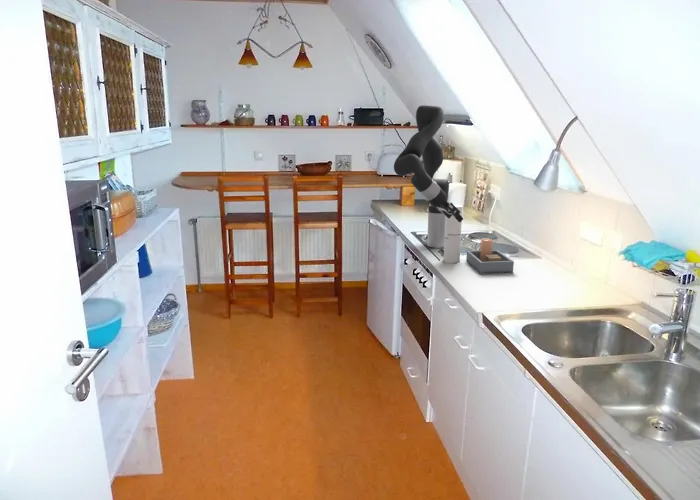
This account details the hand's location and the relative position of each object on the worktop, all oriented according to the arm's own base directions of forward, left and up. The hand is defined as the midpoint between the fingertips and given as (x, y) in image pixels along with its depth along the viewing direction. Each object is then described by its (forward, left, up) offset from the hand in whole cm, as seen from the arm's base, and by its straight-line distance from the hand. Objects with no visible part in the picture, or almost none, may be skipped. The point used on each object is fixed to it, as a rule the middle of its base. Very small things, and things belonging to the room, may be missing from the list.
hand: (455, 218), depth 205 cm
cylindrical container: (-12, +3, -22) cm, 25 cm away
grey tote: (0, +16, -22) cm, 27 cm away
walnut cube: (+4, +16, -21) cm, 26 cm away
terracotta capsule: (-4, +15, -21) cm, 26 cm away
